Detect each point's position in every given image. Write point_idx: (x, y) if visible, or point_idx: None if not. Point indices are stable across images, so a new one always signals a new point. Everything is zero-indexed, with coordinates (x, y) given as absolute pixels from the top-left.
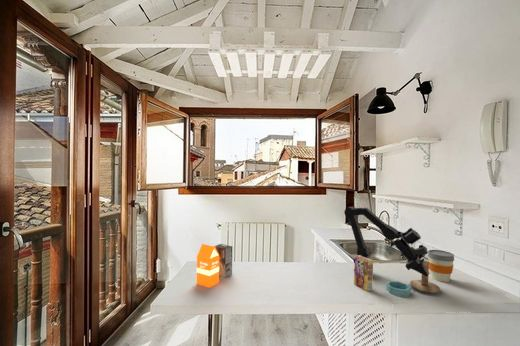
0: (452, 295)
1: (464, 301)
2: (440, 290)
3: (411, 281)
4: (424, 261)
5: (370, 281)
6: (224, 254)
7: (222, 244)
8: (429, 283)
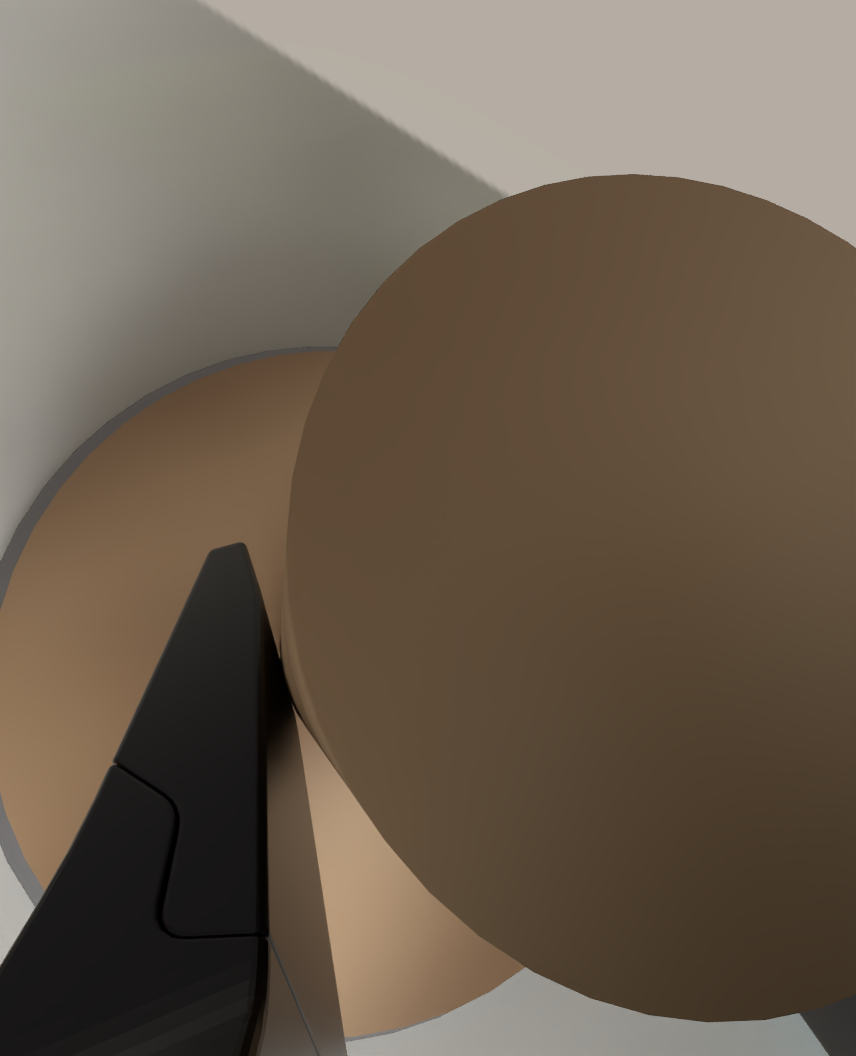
0: (104, 231)
1: (200, 41)
2: (93, 436)
3: (435, 993)
4: (619, 766)
5: None
6: None
7: None
8: (108, 655)
